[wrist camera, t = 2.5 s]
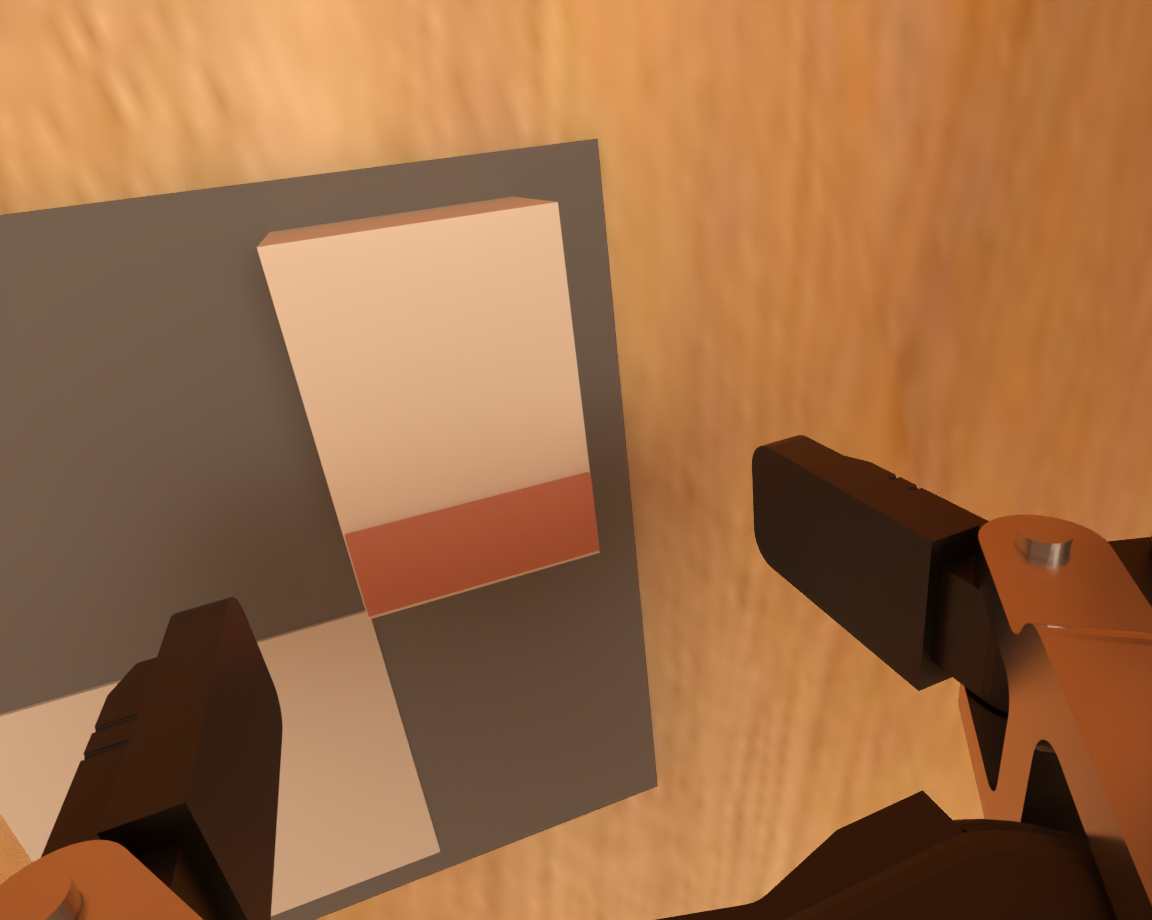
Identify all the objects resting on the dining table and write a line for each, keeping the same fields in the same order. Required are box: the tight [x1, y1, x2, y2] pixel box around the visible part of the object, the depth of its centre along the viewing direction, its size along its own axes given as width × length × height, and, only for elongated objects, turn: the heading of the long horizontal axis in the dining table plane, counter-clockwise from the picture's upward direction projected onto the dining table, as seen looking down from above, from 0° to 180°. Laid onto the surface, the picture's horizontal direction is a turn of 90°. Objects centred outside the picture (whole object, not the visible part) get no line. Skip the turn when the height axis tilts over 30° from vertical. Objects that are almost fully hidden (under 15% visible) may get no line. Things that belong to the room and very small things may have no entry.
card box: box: [257, 196, 600, 620], centre depth 16 cm, size 8×6×4 cm
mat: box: [0, 139, 658, 920], centre depth 19 cm, size 22×18×1 cm
